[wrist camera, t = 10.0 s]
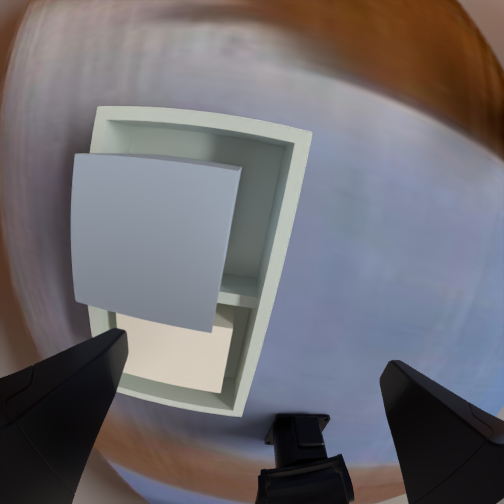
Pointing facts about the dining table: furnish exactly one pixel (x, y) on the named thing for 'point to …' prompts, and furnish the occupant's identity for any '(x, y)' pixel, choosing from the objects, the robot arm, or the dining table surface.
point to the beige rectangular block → (179, 351)
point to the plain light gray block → (151, 235)
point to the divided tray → (241, 235)
